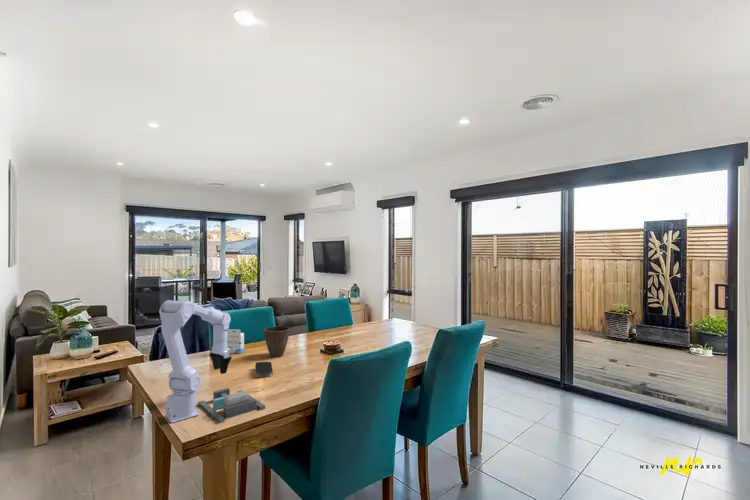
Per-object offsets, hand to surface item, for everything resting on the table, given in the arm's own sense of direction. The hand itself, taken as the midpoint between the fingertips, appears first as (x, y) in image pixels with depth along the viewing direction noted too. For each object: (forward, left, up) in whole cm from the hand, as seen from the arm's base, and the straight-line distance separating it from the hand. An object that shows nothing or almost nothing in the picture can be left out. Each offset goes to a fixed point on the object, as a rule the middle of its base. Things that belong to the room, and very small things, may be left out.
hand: (220, 371), depth 156 cm
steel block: (-1, -19, -10) cm, 22 cm away
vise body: (-1, -15, -10) cm, 18 cm away
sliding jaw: (-1, -9, -10) cm, 14 cm away
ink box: (+33, +61, -11) cm, 70 cm away
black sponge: (+28, +15, -11) cm, 33 cm away
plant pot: (+48, +38, -10) cm, 62 cm away
